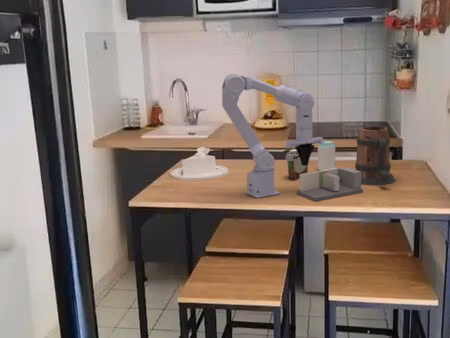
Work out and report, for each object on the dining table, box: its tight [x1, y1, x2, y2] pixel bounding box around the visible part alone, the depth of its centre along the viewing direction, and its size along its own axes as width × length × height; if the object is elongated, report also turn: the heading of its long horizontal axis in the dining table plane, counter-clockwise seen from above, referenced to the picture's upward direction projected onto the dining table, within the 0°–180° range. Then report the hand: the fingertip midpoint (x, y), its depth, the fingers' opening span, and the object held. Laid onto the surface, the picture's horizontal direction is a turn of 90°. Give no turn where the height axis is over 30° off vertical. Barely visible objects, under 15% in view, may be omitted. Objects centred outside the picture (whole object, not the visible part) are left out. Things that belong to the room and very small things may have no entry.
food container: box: [285, 151, 309, 181], centre depth 203 cm, size 12×6×10 cm, turn 141°
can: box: [317, 140, 336, 171], centre depth 211 cm, size 7×7×12 cm
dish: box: [170, 146, 229, 182], centre depth 217 cm, size 25×25×11 cm
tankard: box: [354, 125, 397, 187], centre depth 189 cm, size 24×17×20 cm
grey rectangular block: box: [322, 172, 342, 191], centre depth 179 cm, size 6×7×5 cm
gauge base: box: [296, 166, 364, 202], centre depth 178 cm, size 20×11×7 cm, turn 116°
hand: (304, 165), depth 182 cm, fingers closed
